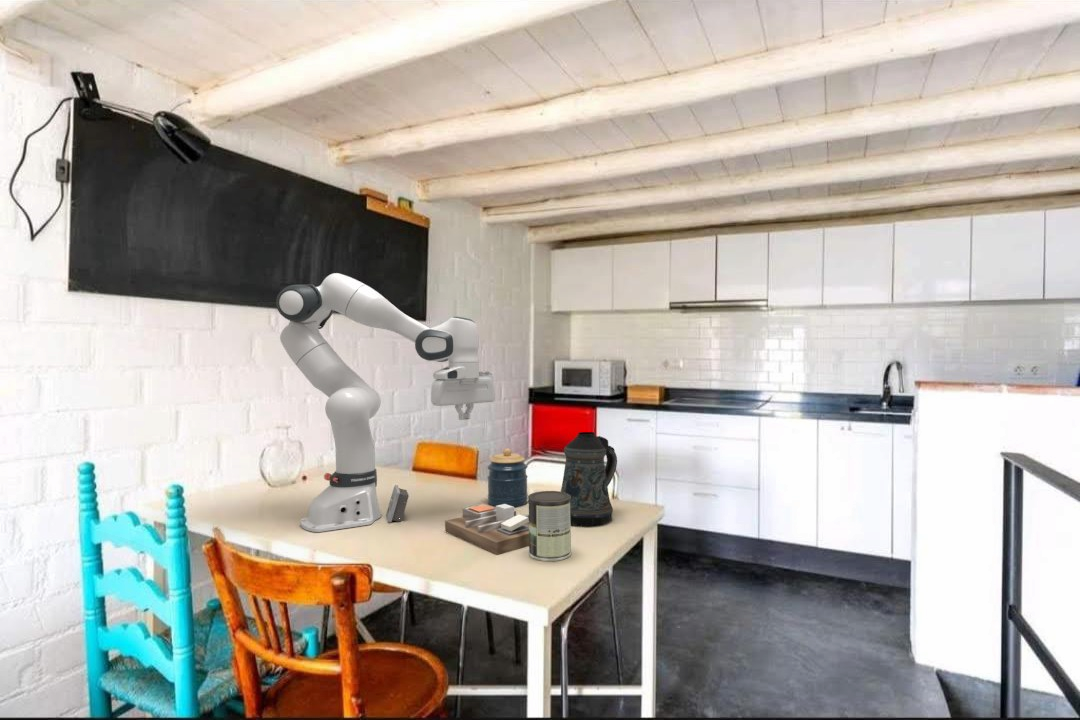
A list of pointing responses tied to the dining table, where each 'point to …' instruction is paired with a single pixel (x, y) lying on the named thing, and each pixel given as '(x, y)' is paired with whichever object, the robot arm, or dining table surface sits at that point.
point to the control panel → (488, 531)
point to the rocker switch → (514, 522)
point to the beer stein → (589, 479)
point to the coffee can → (549, 525)
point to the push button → (481, 508)
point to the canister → (507, 479)
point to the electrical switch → (397, 504)
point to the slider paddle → (504, 512)
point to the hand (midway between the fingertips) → (464, 419)
